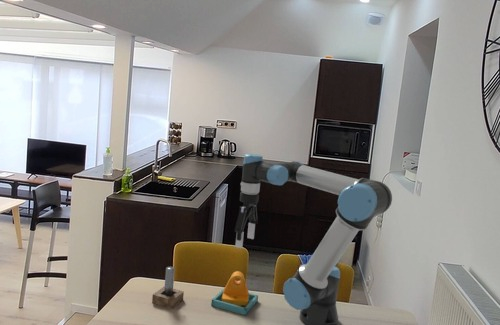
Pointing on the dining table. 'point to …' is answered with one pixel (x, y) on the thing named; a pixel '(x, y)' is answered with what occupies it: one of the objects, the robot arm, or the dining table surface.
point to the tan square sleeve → (167, 298)
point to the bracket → (236, 290)
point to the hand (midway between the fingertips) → (244, 242)
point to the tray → (234, 308)
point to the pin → (169, 281)
